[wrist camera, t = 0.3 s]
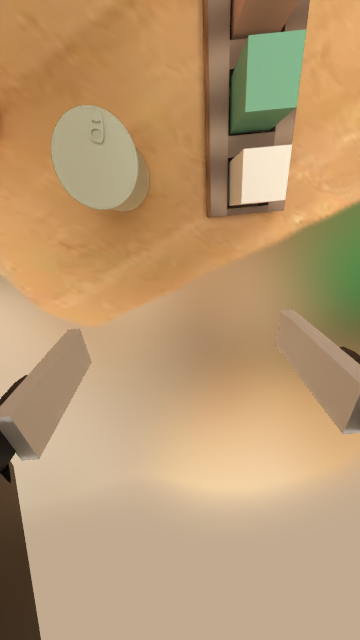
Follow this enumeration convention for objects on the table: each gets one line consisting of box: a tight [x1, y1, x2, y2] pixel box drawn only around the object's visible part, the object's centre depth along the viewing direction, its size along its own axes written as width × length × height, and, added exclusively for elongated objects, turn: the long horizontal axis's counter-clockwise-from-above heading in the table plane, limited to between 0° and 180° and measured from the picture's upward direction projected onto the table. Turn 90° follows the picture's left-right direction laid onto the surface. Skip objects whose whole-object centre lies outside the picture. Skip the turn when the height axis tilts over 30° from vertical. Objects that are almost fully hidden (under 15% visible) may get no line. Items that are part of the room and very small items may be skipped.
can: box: [51, 105, 149, 212], centre depth 27 cm, size 9×9×12 cm
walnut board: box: [203, 0, 310, 217], centre depth 28 cm, size 25×11×4 cm, turn 5°
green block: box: [229, 30, 306, 135], centre depth 24 cm, size 5×5×7 cm
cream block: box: [228, 144, 292, 206], centre depth 28 cm, size 5×5×7 cm
